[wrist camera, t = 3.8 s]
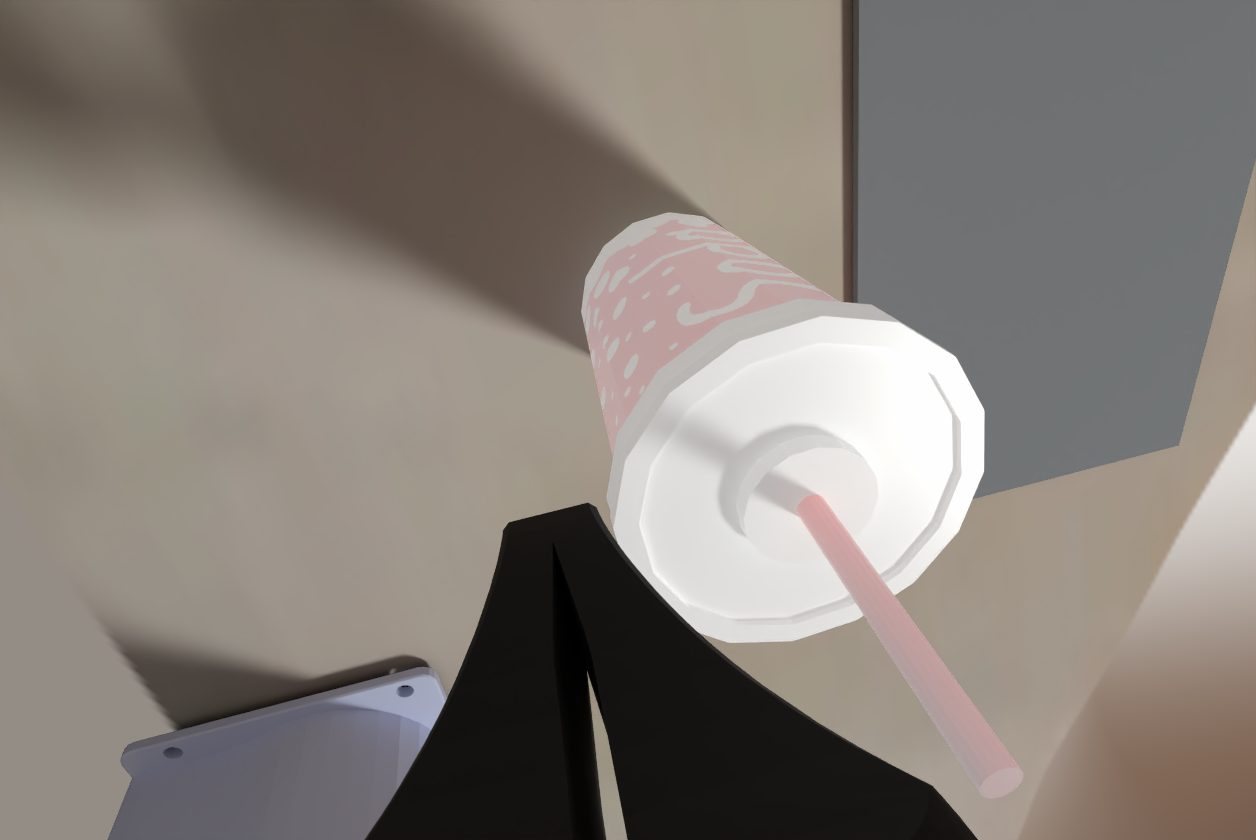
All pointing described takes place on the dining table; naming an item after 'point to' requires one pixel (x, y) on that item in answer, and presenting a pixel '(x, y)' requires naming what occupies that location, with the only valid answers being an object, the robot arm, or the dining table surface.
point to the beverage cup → (782, 453)
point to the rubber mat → (1054, 206)
